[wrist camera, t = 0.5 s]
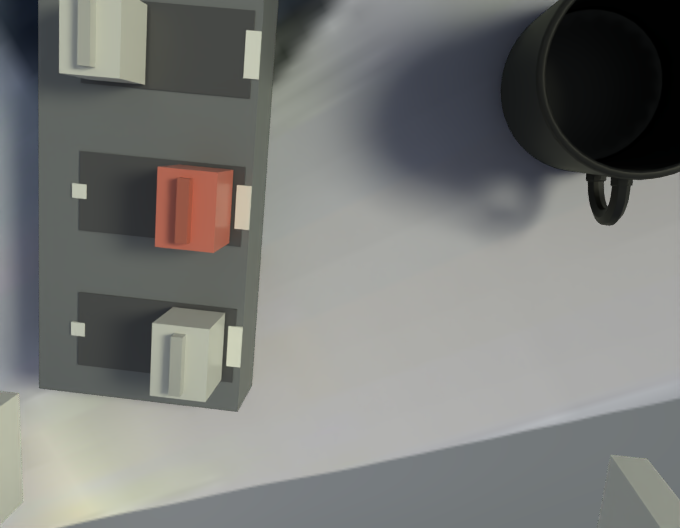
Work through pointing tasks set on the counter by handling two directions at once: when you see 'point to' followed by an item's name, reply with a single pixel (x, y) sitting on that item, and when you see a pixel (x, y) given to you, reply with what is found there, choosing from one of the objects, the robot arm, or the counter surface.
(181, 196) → the slider
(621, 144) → the mug
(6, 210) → the counter surface
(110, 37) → the slider
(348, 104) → the counter surface
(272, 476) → the counter surface
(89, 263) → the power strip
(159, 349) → the slider
